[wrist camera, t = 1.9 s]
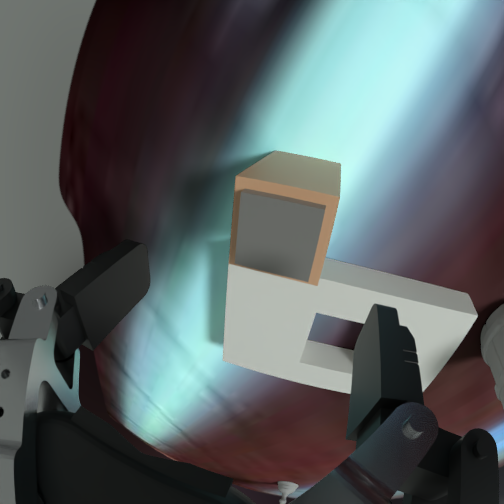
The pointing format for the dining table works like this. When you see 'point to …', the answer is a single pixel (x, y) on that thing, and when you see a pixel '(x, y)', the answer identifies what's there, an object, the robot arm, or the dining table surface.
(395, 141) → the dining table surface
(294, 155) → the plug
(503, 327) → the mug
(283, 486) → the chalice
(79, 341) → the robot arm
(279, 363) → the socket plate
